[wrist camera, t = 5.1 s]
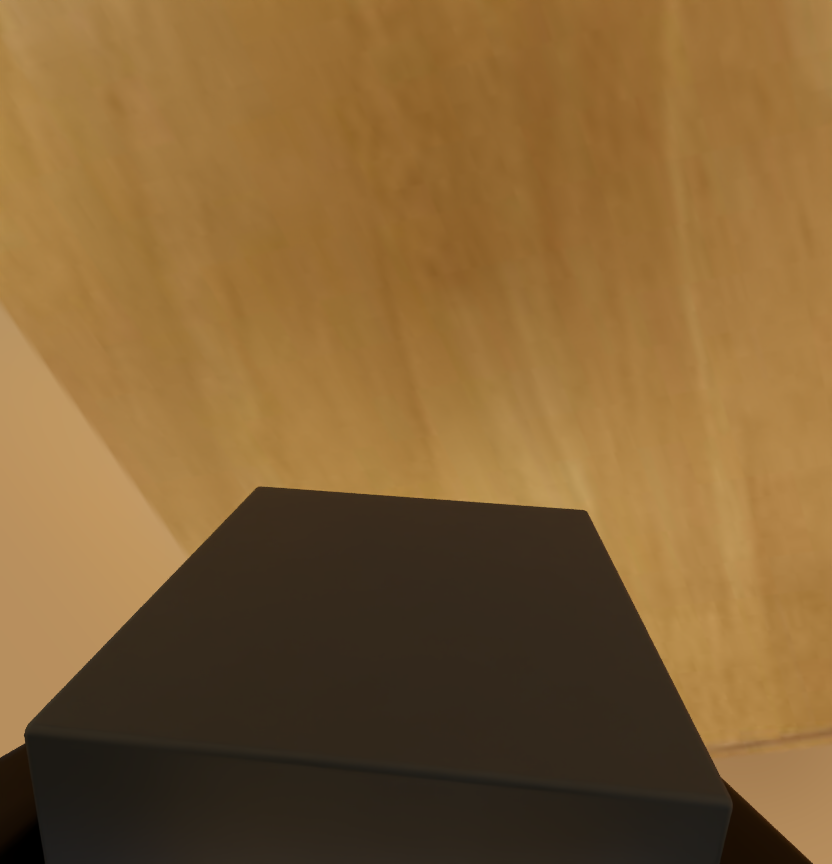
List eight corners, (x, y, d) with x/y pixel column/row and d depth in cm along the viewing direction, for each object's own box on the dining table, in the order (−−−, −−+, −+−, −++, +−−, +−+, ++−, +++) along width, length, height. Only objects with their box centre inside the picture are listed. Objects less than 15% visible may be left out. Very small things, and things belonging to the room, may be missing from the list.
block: (551, 780, 10) (631, 1250, 5) (264, 750, 10) (91, 1166, 6) (587, 508, 9) (738, 803, 4) (257, 484, 9) (18, 729, 4)
